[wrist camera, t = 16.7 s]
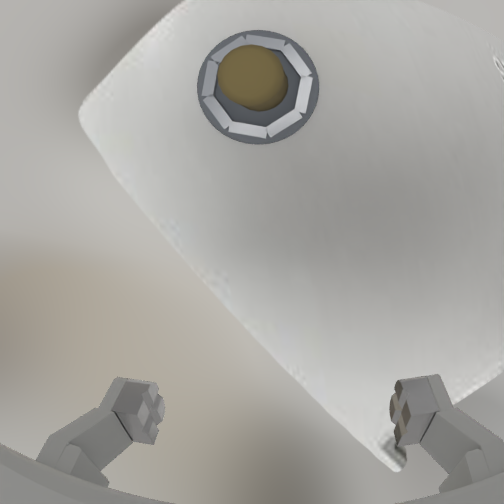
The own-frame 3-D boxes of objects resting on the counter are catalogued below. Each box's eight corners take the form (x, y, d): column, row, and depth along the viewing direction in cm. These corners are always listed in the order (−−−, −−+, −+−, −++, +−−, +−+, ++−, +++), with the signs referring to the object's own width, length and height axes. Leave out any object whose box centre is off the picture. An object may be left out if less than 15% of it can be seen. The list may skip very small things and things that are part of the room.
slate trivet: (272, 11, 28) (272, 7, 26) (341, 104, 32) (343, 104, 30) (176, 76, 32) (172, 75, 30) (242, 165, 36) (241, 168, 34)
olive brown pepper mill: (242, 51, 30) (224, 26, 20) (296, 69, 30) (301, 51, 20) (223, 101, 32) (196, 97, 22) (276, 119, 33) (272, 123, 23)
